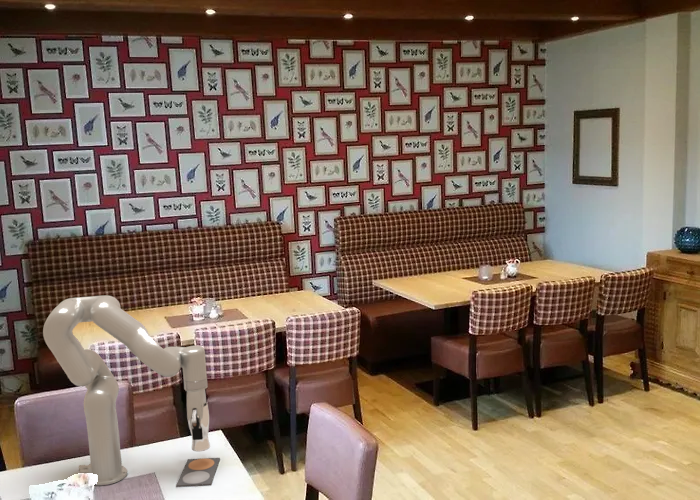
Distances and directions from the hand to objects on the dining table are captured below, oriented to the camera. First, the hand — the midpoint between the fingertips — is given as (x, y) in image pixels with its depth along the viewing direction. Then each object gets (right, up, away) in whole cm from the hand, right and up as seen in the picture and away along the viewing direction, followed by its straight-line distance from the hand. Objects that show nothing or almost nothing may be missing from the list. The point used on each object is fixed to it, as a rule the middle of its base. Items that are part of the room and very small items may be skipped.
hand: (199, 434), depth 238 cm
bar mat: (0, -12, -3) cm, 12 cm away
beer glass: (0, -5, +1) cm, 5 cm away
